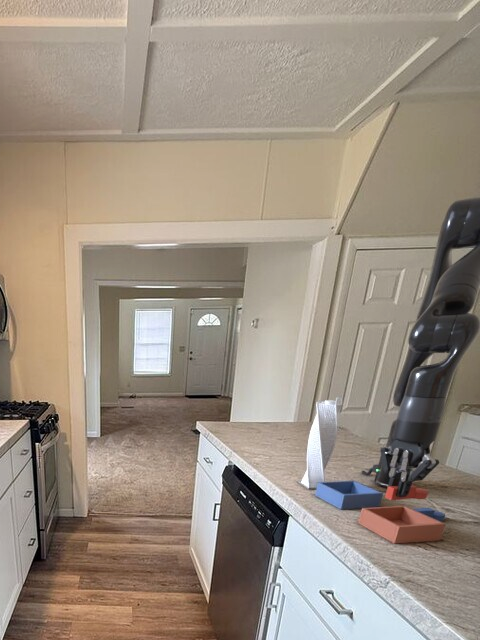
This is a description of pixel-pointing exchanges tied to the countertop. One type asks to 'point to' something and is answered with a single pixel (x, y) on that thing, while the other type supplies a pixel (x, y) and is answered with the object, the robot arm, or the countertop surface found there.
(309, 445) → the skyscraper
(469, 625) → the countertop surface
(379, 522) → the terracotta bin
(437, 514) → the blue stepped block
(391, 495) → the red stepped block
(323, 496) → the blue bin
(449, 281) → the robot arm
